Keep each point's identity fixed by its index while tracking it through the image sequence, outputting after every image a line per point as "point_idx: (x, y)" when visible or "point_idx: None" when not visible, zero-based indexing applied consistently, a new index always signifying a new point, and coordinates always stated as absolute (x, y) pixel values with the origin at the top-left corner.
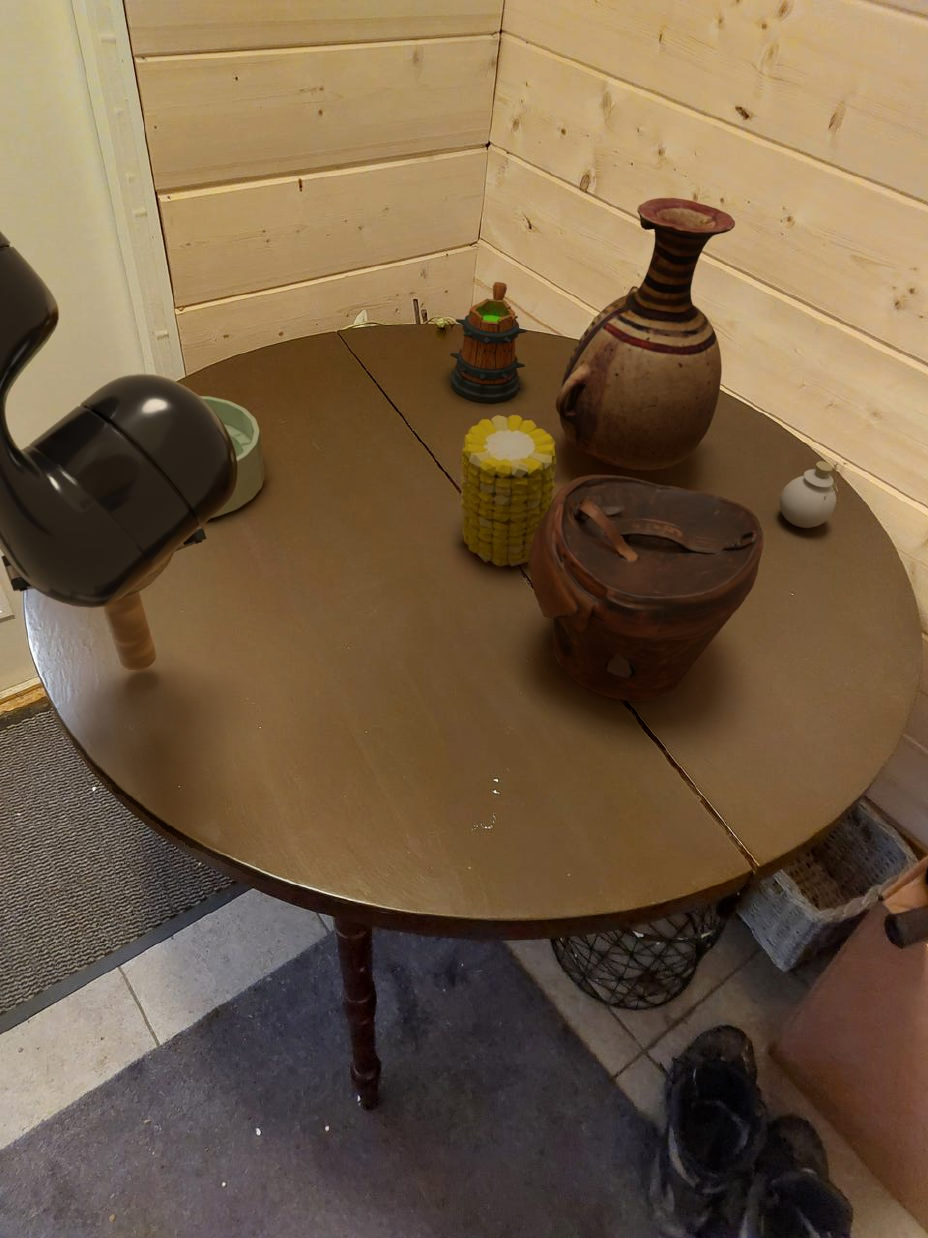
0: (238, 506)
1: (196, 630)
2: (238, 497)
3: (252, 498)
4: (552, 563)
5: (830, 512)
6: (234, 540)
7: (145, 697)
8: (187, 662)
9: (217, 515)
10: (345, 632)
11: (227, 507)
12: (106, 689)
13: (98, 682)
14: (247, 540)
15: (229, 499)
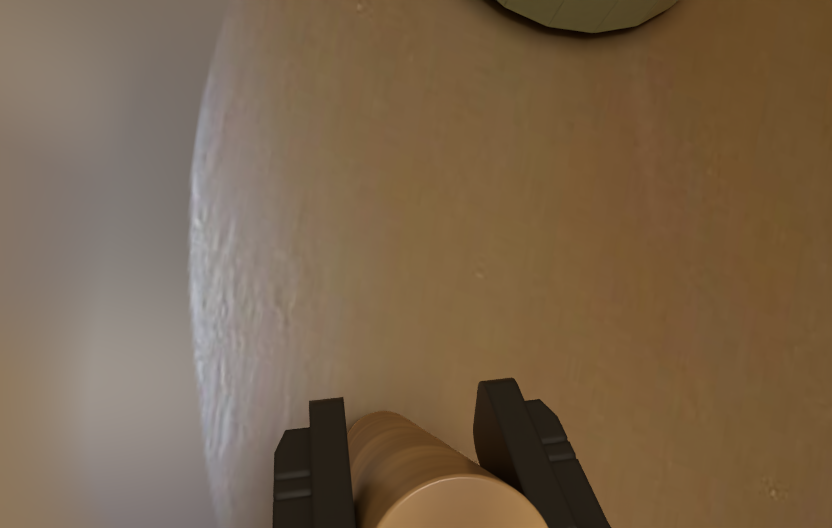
0: (643, 21)
1: (497, 339)
2: (657, 6)
3: (671, 6)
4: None
5: None
6: (611, 108)
7: None
8: (465, 425)
9: (597, 31)
10: (774, 447)
11: (625, 21)
12: None
13: (286, 421)
14: (636, 117)
15: (641, 8)
